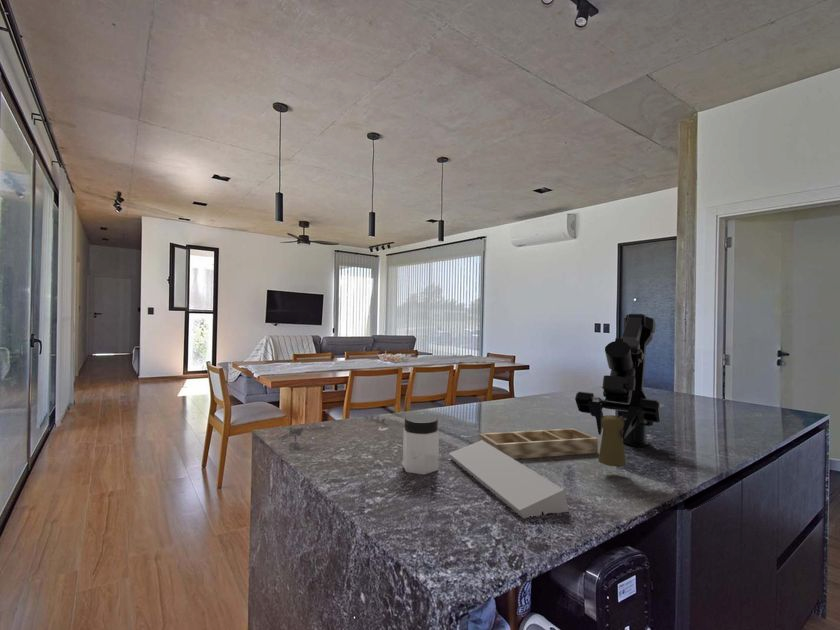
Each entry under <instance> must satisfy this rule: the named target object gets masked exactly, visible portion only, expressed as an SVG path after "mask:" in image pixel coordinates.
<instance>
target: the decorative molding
mask: <svg viewBox="0 0 840 630" xmlns="http://www.w3.org/2000/svg"><path fill="white" fill-rule="evenodd" d="M448 455H449V457H450V459H451V460H452V461H453V462H454V463H455V462H456V465H458V466H459V468H461V467H462V468H461V469H463V470H464V471H465V472H466V471H467V472H466V473H468V474H469V475H470V476H471V477H472V476H473V477H472V478H474V480H476V481H477V482H479V484H481V485H482V486H483V485H484V486H483V487H485V488H486V489H487V490H488V489H489V490H490V492H491V493H492V494H493V495H494V494H495V495H494V496H496V497H497V498H498V499H499V500H500V501H501V502H503V503H504V504H505V505H506V504H507V505H506V506H508V507H509V508H510V509H511V510H513V512H515V513H516V514H517V513H518V514H517V515H518V516H520V517H521V518H522V519H528V518H534V517H533V516H536V517H540V516H539V515H541V516H542V515H543V516H546V515H548V514H555V513H557V514H563V513H569V505H568V500H567V497H566V492H565V489H564V488H562V487H561V486H559V485H557V484H555V483H554V482H552V481H550V479H548V478H546V477H544V476H542V475H540V474H539V473H538V472H536V471H534V470H532V469H531V468H529V467H527V465H524V464H522V463H521V462H519V461H517V459H513V458H511V457H509V456H508V455H506V454H504V453H503V452H501V451H499V450H498V449H496V448H494V447H493V446H491V445H489V444H488V443H486V442H484V441H483V440H481V441H479V440H478V441H475V442H474V443H471V444H469V445H468V444H467V445H466V446H464V447H461V448H458V449H456V450H453V451H451V452H449V453H448ZM489 490H488V491H489ZM562 512H563V513H562ZM542 513H543V514H542ZM530 516H531V517H530Z"/></svg>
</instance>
